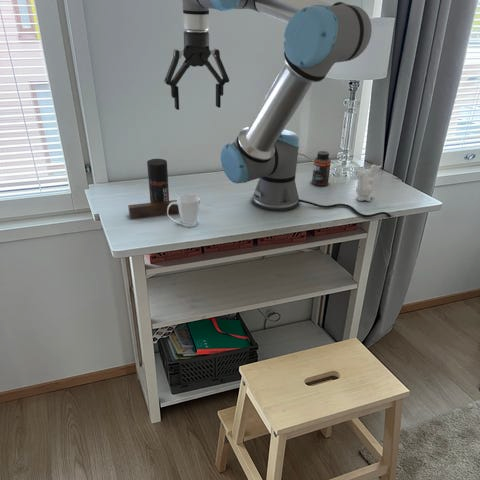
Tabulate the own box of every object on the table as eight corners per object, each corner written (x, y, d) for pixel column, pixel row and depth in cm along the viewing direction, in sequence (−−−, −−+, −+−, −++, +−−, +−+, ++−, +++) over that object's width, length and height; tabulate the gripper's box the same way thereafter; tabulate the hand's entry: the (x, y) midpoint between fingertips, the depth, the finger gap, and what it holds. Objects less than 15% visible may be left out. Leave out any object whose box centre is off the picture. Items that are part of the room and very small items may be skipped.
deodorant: (164, 213, 153) (161, 166, 144) (147, 210, 155) (143, 163, 146) (172, 206, 158) (170, 160, 149) (156, 203, 159) (153, 157, 150)
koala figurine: (371, 195, 171) (378, 161, 164) (378, 203, 166) (386, 168, 158) (348, 196, 170) (354, 161, 163) (355, 203, 164) (361, 168, 157)
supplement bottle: (327, 181, 181) (331, 150, 174) (328, 187, 176) (332, 155, 169) (311, 180, 181) (315, 149, 175) (311, 185, 176) (315, 154, 170)
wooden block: (194, 208, 157) (194, 197, 155) (196, 211, 155) (196, 200, 153) (129, 216, 151) (128, 205, 149) (130, 219, 149) (129, 208, 147)
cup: (202, 228, 145) (201, 202, 141) (168, 230, 144) (166, 204, 139) (199, 218, 151) (199, 193, 146) (167, 219, 149) (165, 194, 145)
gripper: (232, 29, 149) (230, 103, 162) (151, 29, 142) (156, 106, 154) (240, 32, 144) (238, 108, 156) (157, 32, 136) (161, 112, 149)
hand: (197, 107), depth 155 cm, fingers open, 13 cm apart
